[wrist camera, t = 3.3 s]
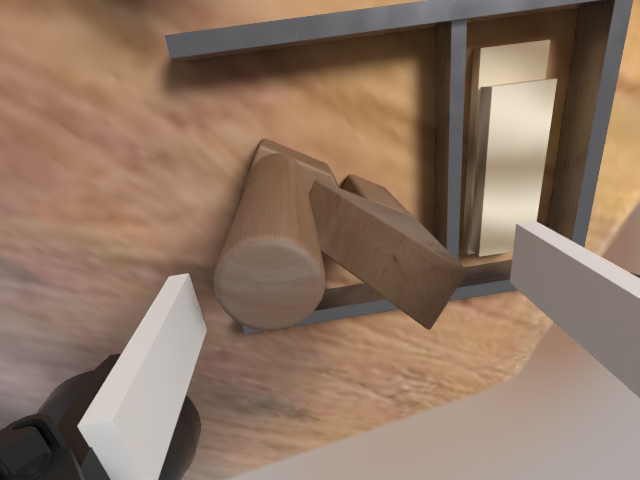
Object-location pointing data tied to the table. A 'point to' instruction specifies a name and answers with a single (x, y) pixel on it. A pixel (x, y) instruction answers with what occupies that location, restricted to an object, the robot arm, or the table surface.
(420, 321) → the wooden block
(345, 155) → the table surface
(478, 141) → the offcut stack
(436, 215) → the tray
